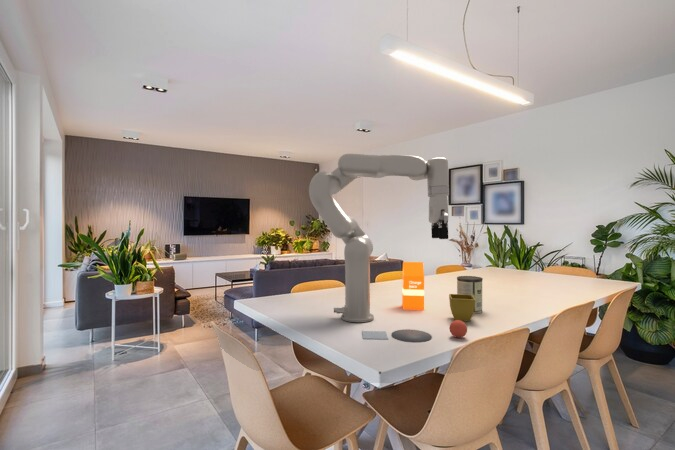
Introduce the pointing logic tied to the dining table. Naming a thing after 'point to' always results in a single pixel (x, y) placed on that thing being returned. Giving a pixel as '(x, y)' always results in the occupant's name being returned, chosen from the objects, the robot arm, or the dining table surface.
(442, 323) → the dining table surface
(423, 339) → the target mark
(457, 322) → the ball
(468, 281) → the coffee can
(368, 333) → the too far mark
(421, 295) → the orange juice
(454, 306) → the flower pot
